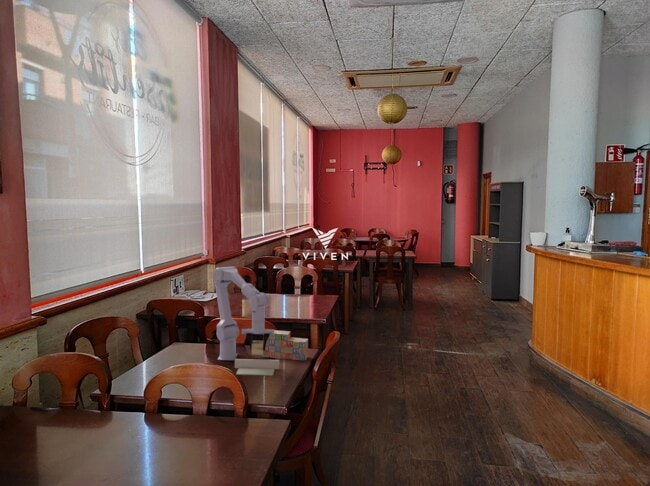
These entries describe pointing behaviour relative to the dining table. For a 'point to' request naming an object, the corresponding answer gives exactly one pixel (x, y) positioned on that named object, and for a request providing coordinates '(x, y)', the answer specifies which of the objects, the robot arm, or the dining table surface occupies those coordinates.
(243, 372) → the mat
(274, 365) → the screen
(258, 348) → the letter cube
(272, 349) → the stack of blocks
